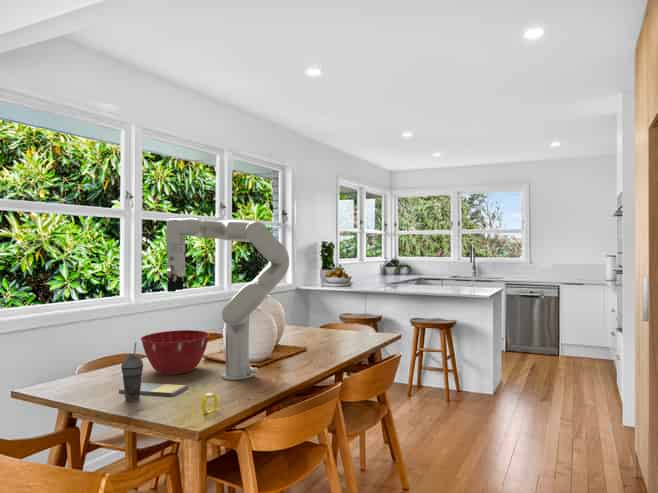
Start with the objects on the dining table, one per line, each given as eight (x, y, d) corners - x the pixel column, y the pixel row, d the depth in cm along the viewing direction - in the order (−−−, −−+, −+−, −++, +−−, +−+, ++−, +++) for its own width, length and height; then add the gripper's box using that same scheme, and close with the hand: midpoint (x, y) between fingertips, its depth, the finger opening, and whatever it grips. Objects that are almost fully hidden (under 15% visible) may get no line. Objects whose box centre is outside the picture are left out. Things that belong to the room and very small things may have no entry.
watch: (206, 416, 155) (205, 398, 154) (199, 415, 156) (198, 396, 156) (219, 409, 160) (218, 391, 159) (213, 408, 161) (212, 390, 161)
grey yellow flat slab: (187, 388, 185) (187, 385, 185) (172, 396, 175) (172, 392, 175) (135, 385, 190) (135, 382, 190) (118, 392, 180) (118, 389, 180)
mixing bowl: (190, 381, 196) (190, 342, 196) (126, 378, 202) (126, 340, 202) (220, 365, 224) (220, 330, 224) (163, 362, 230) (162, 329, 230)
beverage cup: (125, 397, 175) (124, 340, 175) (146, 396, 176) (145, 340, 176) (118, 403, 168) (117, 344, 168) (140, 402, 168) (139, 344, 169)
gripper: (178, 248, 194) (178, 292, 193) (190, 248, 211) (190, 289, 211) (159, 248, 194) (158, 292, 193) (173, 248, 211) (173, 288, 211)
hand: (175, 290), depth 202 cm, fingers open, 9 cm apart
